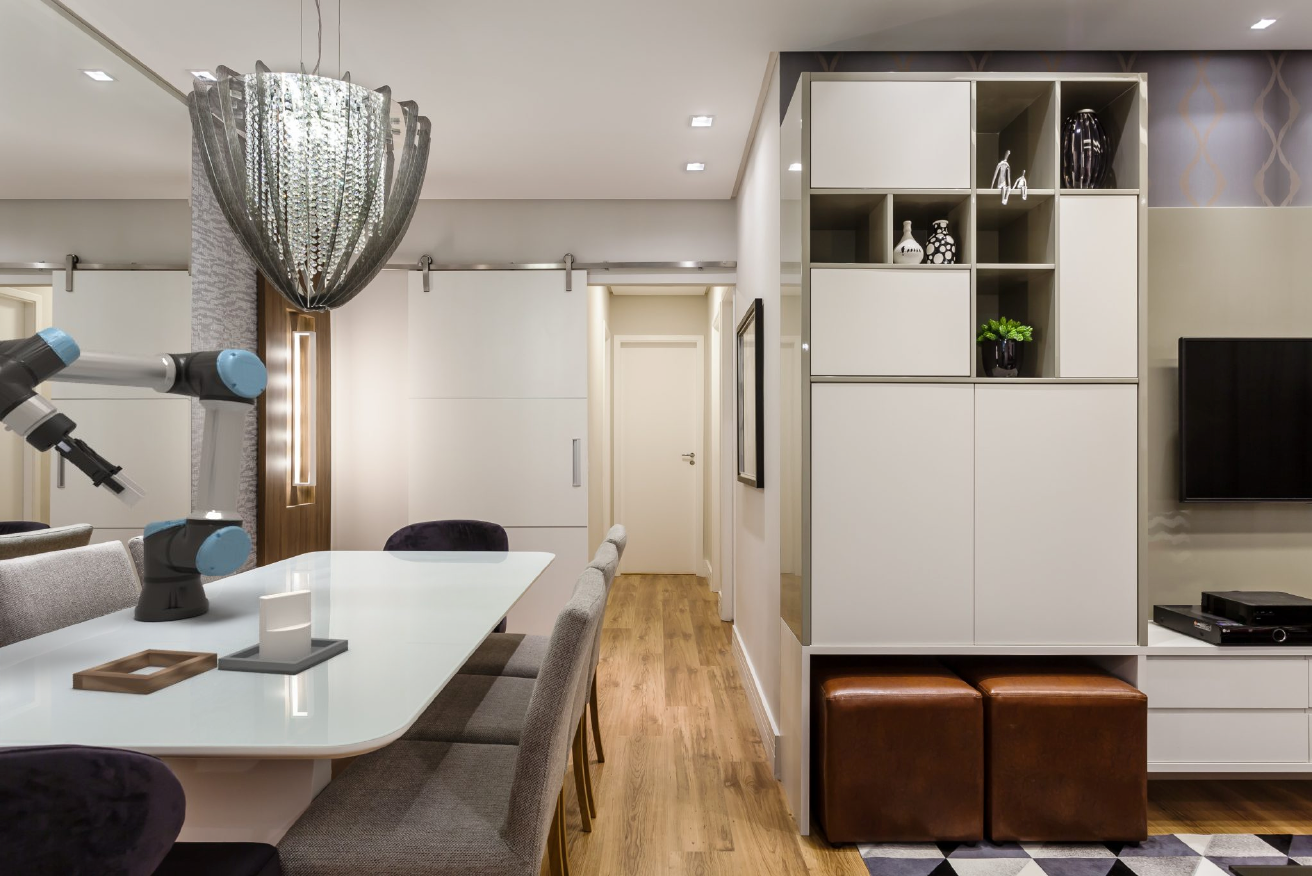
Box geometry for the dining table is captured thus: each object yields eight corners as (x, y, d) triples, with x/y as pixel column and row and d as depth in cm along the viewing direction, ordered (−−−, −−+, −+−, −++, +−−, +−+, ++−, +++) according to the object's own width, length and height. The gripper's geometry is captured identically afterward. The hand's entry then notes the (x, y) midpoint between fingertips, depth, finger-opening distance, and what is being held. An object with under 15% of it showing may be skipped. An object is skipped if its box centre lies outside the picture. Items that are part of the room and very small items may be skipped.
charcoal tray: (278, 645, 150) (278, 635, 150) (348, 649, 147) (348, 639, 147) (218, 669, 134) (218, 658, 134) (294, 674, 131) (294, 663, 131)
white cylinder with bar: (298, 646, 147) (298, 587, 147) (319, 655, 141) (319, 593, 141) (251, 656, 140) (251, 594, 140) (271, 666, 134) (271, 601, 134)
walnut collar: (149, 661, 139) (149, 648, 139) (217, 666, 136) (217, 653, 136) (72, 688, 124) (72, 673, 124) (147, 694, 121) (147, 679, 121)
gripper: (36, 438, 146) (128, 508, 154) (8, 439, 125) (117, 520, 133) (69, 412, 148) (158, 482, 157) (48, 409, 127) (152, 490, 135)
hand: (140, 500), depth 145 cm, fingers open, 13 cm apart
